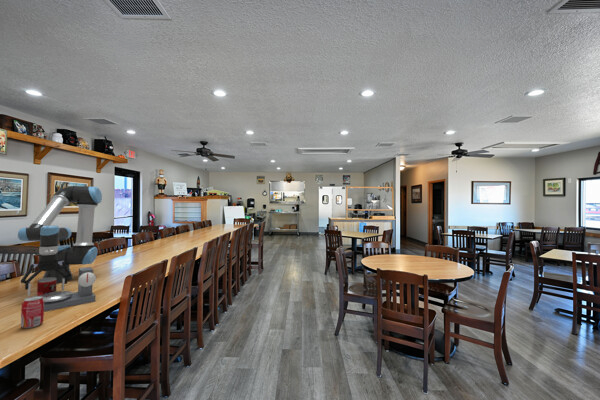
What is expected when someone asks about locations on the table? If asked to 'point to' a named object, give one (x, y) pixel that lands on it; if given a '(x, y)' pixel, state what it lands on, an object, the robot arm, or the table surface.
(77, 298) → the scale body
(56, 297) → the pan
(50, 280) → the canned food
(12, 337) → the table surface
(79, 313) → the table surface
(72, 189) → the robot arm
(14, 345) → the table surface
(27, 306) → the soda can
